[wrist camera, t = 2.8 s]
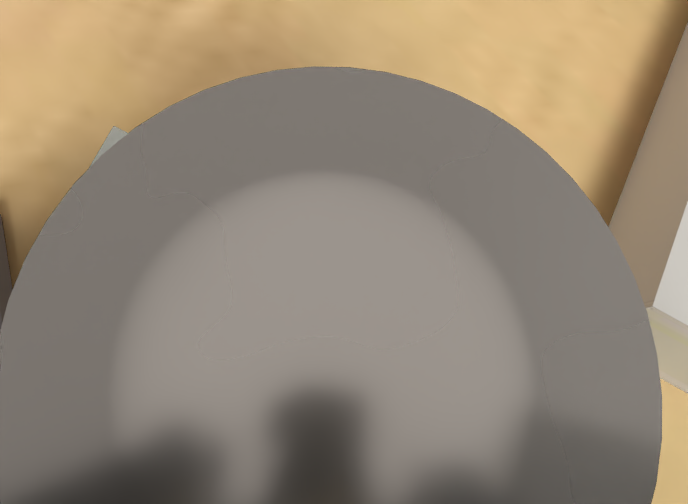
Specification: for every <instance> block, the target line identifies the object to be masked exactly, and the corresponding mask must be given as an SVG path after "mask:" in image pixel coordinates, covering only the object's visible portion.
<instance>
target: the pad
mask: <svg viewBox="0 0 688 504" xmlns="http://www.w3.org/2000/svg"><path fill="white" fill-rule="evenodd" d="M12 290H13V289H12V283H11V276H10V270H9V263H8V257H7V250H6V244H5V237H4V231H3V224H2V218H1V215H0V330H1V326H2V322H3V318H4V315H5V311H6V307H7V303H8V300H9V297H10V295H11V292H12ZM0 504H1V502H0Z"/></svg>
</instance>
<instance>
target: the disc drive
mask: <svg viewBox="0 0 688 504" xmlns="http://www.w3.org/2000/svg"><path fill="white" fill-rule="evenodd" d="M608 228H609V229H610V231H611V232H612V234H613V235H614V237H615V239H616V240H617V242H618V244H619V246H620V248H621V250H622V252H623V254H624V256H625V258H626V260H627V262H628V265H629V267H630V269H631V271H632V273H633V275H634V277H635V280H636V283H637V285H638V288H639V291H640V294H641V297H642V299H643V302H644V305H645V308H646V311H647V313H648V318H649V322H650V326H651V330H652V335H653V339H654V343H655V347H656V352H657V358H658V367H659V375H660V378H661V379H663V380H665V381H666V382H668V383H670V384H672V385H674V386H675V387H677V388H679V389H681V390H683V391H684V392H686V393H688V23H687V25H686V28H685V30H684V33H683V36H682V38H681V41H680V43H679V46H678V48H677V51H676V54H675V56H674V59H673V61H672V64H671V66H670V69H669V72H668V74H667V77H666V79H665V82H664V84H663V87H662V90H661V92H660V95H659V97H658V100H657V103H656V105H655V108H654V110H653V113H652V115H651V118H650V121H649V123H648V126H647V128H646V131H645V133H644V136H643V139H642V141H641V144H640V146H639V149H638V151H637V154H636V157H635V159H634V162H633V164H632V167H631V170H630V172H629V175H628V177H627V180H626V182H625V185H624V188H623V190H622V193H621V195H620V198H619V200H618V203H617V206H616V208H615V211H614V213H613V216H612V218H611V221H610V224H609V226H608Z"/></svg>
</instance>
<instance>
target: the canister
mask: <svg viewBox="0 0 688 504" xmlns="http://www.w3.org/2000/svg"><path fill="white" fill-rule="evenodd" d="M661 441H662V392H661V384H660V375H659V367H658V358H657V352H656V347H655V343H654V339H653V335H652V330H651V326H650V322H649V318H648V313H647V311H646V308H645V305H644V302H643V299H642V297H641V294H640V291H639V288H638V285H637V283H636V280H635V277H634V275H633V273H632V271H631V269H630V267H629V265H628V262H627V260H626V258H625V256H624V254H623V252H622V250H621V248H620V246H619V244H618V242H617V240H616V239H615V237H614V235H613V234H612V232H611V231H610V229H609V228H608V226H607V224H606V223H605V221H604V220H603V218H602V216H601V215H600V213H599V212H598V210H597V209H596V207H595V206H594V205H593V203H592V202H591V201H590V200H589V198H588V197H587V196H586V195H585V193H584V192H583V191H582V190H581V188H580V187H579V186H578V185H577V183H576V182H575V181H574V180H573V178H572V177H571V176H570V175H569V174H568V173H567V172H566V171H565V170H564V169H563V168H562V167H561V166H560V165H559V164H558V163H557V162H556V161H555V160H554V159H553V158H552V157H551V156H550V155H549V154H548V153H547V152H545V151H544V150H543V149H542V148H541V147H539V146H538V145H537V144H536V143H534V142H533V141H532V140H531V139H529V138H528V137H527V136H526V135H524V134H523V133H522V132H521V131H519V130H518V129H517V128H515V127H514V126H512V125H511V124H509V123H507V122H506V121H504V120H503V119H501V118H500V117H498V116H497V115H495V114H493V113H492V112H490V111H489V110H487V109H485V108H483V107H481V106H479V105H477V104H475V103H473V102H471V101H469V100H467V99H465V98H463V97H461V96H459V95H457V94H455V93H453V92H450V91H447V90H444V89H442V88H439V87H436V86H434V85H431V84H428V83H425V82H423V81H420V80H416V79H412V78H407V77H403V76H399V75H395V74H391V73H387V72H381V71H373V70H366V69H358V68H351V67H305V68H294V69H284V70H275V71H270V72H266V73H261V74H256V75H251V76H247V77H242V78H238V79H235V80H232V81H229V82H226V83H223V84H220V85H217V86H214V87H212V88H209V89H206V90H203V91H201V92H199V93H197V94H195V95H192V96H190V97H188V98H186V99H184V100H182V101H180V102H178V103H175V104H173V105H171V106H169V107H167V108H166V109H164V110H163V111H161V112H159V113H158V114H156V115H155V116H153V117H152V118H150V119H148V120H147V121H145V122H144V123H142V124H140V125H139V126H137V127H136V128H134V129H133V130H132V131H131V132H129V133H128V134H127V135H126V136H124V137H123V138H122V139H121V140H119V141H118V142H117V143H116V144H114V145H113V146H112V147H111V148H110V149H108V150H107V151H106V152H105V153H103V154H102V155H101V156H100V157H99V158H98V160H97V161H96V162H95V163H94V164H93V165H92V166H91V167H90V168H89V169H88V170H87V171H86V172H85V173H84V174H83V175H82V176H81V177H80V178H79V179H78V180H77V181H76V182H75V183H74V185H73V186H72V187H71V189H70V190H69V191H68V193H67V194H66V195H65V197H64V198H63V199H62V201H61V202H60V203H59V205H58V206H57V207H56V209H55V210H54V211H53V213H52V214H51V215H50V217H49V218H48V219H47V221H46V223H45V225H44V226H43V228H42V230H41V232H40V233H39V235H38V237H37V239H36V240H35V242H34V244H33V246H32V248H31V249H30V251H29V253H28V255H27V256H26V258H25V261H24V263H23V266H22V268H21V270H20V273H19V275H18V278H17V280H16V283H15V285H14V288H13V290H12V292H11V295H10V297H9V300H8V303H7V307H6V311H5V315H4V318H3V322H2V326H1V330H0V502H1V504H651V502H652V498H653V494H654V490H655V486H656V482H657V474H658V465H659V457H660V449H661Z"/></svg>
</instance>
